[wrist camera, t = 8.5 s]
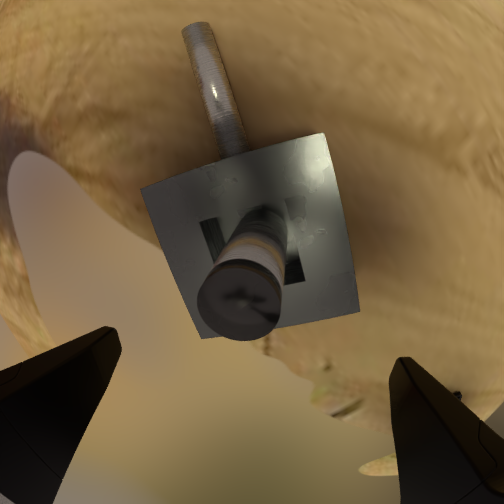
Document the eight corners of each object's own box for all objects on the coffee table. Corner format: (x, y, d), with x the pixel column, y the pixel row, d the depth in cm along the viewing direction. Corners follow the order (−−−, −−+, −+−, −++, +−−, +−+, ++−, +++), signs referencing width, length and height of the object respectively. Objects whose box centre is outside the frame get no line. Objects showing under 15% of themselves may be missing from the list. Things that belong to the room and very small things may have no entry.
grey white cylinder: (287, 209, 17) (280, 271, 10) (288, 258, 18) (280, 342, 11) (234, 209, 18) (191, 269, 10) (238, 258, 19) (203, 337, 12)
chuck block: (349, 280, 20) (360, 311, 16) (216, 306, 22) (201, 339, 18) (273, 9, 13) (267, -19, 10) (134, 63, 16) (102, 52, 12)
